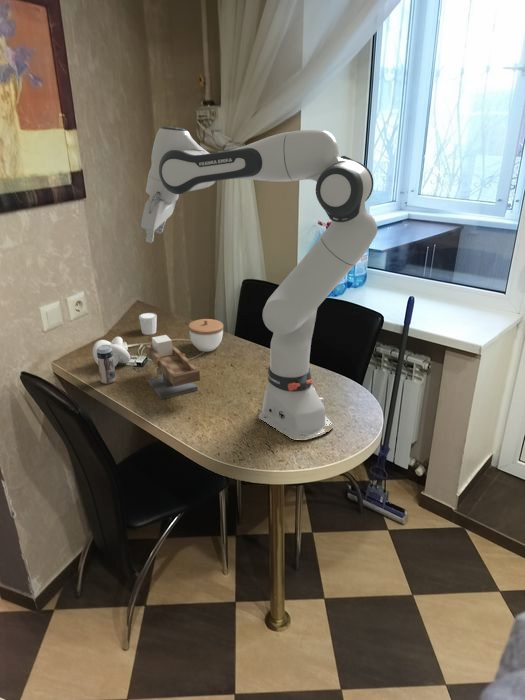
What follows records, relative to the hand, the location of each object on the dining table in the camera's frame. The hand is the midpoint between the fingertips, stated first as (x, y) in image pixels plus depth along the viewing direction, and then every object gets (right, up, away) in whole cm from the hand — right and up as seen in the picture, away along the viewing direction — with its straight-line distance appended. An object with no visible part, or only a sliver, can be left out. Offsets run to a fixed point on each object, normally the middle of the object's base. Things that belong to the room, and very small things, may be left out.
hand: (154, 237), depth 141 cm
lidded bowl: (+10, -31, +45) cm, 56 cm away
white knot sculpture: (-21, -37, +30) cm, 53 cm away
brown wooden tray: (+2, -44, +18) cm, 47 cm away
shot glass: (-14, -25, +57) cm, 64 cm away
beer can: (-19, -42, +20) cm, 51 cm away
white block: (-2, -33, +20) cm, 39 cm away
